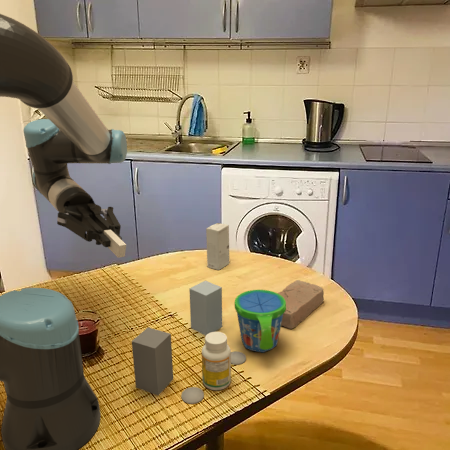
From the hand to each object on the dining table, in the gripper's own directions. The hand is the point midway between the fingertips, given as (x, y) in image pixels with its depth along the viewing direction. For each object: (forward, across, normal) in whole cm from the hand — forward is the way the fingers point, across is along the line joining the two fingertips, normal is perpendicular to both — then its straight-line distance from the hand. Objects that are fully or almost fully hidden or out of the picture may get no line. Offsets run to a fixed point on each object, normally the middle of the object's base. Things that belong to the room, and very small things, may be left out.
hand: (122, 251), depth 89 cm
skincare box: (-14, -42, -21) cm, 49 cm away
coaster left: (+25, -3, -17) cm, 30 cm away
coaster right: (+22, -16, -16) cm, 31 cm away
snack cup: (+21, -23, -16) cm, 35 cm away
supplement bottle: (+25, -8, -16) cm, 31 cm away
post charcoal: (+18, 0, -19) cm, 26 cm away
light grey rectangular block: (+9, -19, -18) cm, 28 cm away
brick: (+17, -39, -15) cm, 45 cm away
